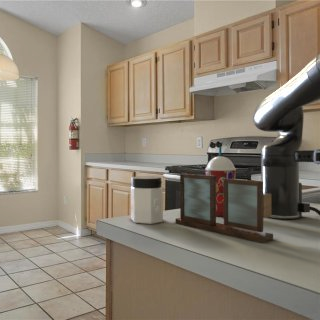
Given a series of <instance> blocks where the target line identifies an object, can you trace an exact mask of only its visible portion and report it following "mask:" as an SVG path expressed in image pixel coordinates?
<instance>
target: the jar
mask: <svg viewBox="0 0 320 320" xmlns="http://www.w3.org/2000/svg"><path fill="white" fill-rule="evenodd" d="M130 179H131V186H130V219H131V220H132V221H133V222H134V224H135V223H136V224H144V225H145V224H146V225H153V224H159V223H163V222H164V188H163V186H162V182H163V181H162V177H161V176H154V175H153V176H151V175H143V176H142V175H139V176H132V177H131V178H130Z"/></svg>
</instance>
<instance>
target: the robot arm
mask: <svg viewBox="0 0 320 320" xmlns="http://www.w3.org/2000/svg"><path fill="white" fill-rule="evenodd" d="M319 101H320V52H319V53H318V54H316V56H314V57H313V58H312V59H311V60H309V62H308V63H307V64H305V66H304V67H303V68H302V69H301V70H300V71H298V72H297V73H296V74H294V75H293V76H292V77H291V78H290V79H289V80H288V81H287V82H286V83H284V84H283V85H282V86H281V87H279V88H278V89H276V91H274V92H273V93H271V94H270V95H267V97H265V98H264V99H262V100H261V101H260V102H259V104H258V105H257V106H256V108H255V110H254V112H253V116H252V120H253V124H254V126H255V128H257V129H258V130H260V131H262V132H266V133H267V132H269V133H276V132H277V137H276V138H275V139H274V140H273V141H271V142H269V143H266V144H264V145H262V146H261V149H260V181H263V194H265V193H267V194H271V216H270V217H269V218H270V219H279V220H296V219H299V218H302V217H303V213H305V214H306V213H310V212H311V211H312V212H315V213H316V214H317V215H318V216H320V209H318V208H317V207H313V206H312V205H311V203H308V202H303V184H302V182H300V163H314V164H316V165H320V149H319V148H318V149H313V150H312V149H311V150H310V149H309V150H307V149H303V150H301V147H302V144H303V135H304V134H303V133H304V132H303V131H304V122H305V121H304V120H305V113H304V112H305V111H304V107H305V106H307V105H310V104H313V103H316V102H319Z"/></svg>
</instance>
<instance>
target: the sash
mask: <svg viewBox="0 0 320 320" xmlns="http://www.w3.org/2000/svg"><path fill="white" fill-rule="evenodd" d="M270 216H271V194H267V193H265V194H263V181H261V180H250V179H236V178H235V179H224V216H223V224H224V225H228V226H232V227H237V228H242V229H247V230H252V231H257V232H264V219H267V218H270Z"/></svg>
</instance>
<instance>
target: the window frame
mask: <svg viewBox="0 0 320 320" xmlns="http://www.w3.org/2000/svg"><path fill="white" fill-rule="evenodd" d="M179 185H180V186H179V197H180V198H179V199H180V200H179V201H180V202H179V203H180V204H179V205H180V206H179V207H180V208H179V209H180V211H179V212H180V214H179V215H180V216H179V217H177V218H175V224H178V225H182V226H187V227H191V228H196V229H199V230H203V231H208V232H213V233H217V234H222V235H226V236H231V237H235V238H240V239H245V240H248V241H253V242H256V243H261V244H264V243H266V242H269V241H272V240H274V234H273V233H271V232H266V231H263V232H257V231H252V230H247V229H242V228H237V227H232V226H228V225H224V223H220V222H217V216H216V176H213V175H206V174H196V173H195V174H194V173H179Z"/></svg>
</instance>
